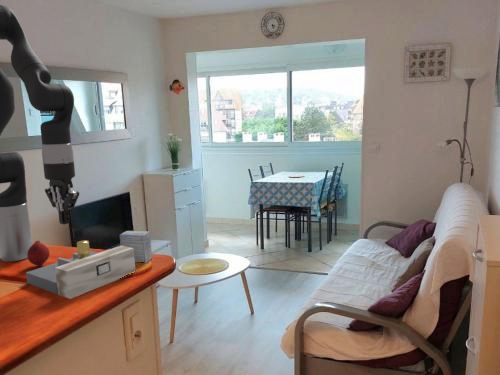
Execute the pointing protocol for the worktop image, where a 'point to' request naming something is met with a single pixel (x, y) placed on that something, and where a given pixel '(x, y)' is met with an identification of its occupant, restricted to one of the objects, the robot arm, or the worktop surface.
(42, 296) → the worktop surface
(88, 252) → the bolt
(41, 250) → the onion
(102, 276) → the block
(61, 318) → the worktop surface
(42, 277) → the door leaf
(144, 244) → the medicine box
